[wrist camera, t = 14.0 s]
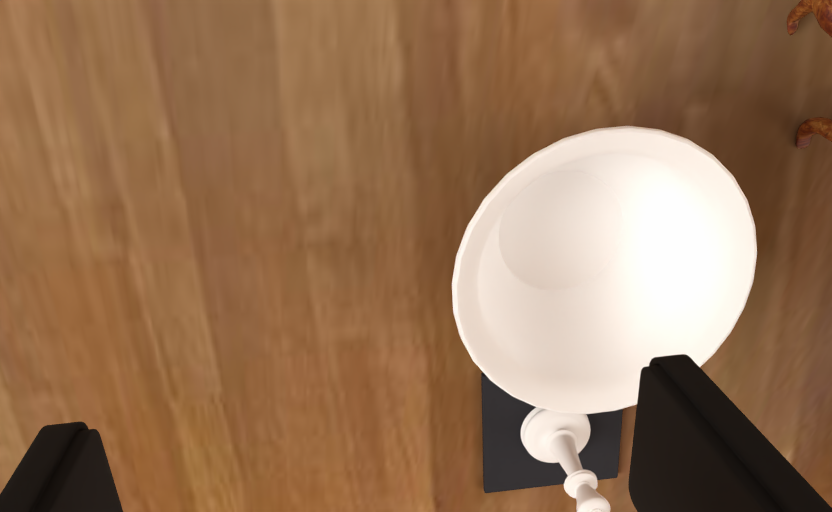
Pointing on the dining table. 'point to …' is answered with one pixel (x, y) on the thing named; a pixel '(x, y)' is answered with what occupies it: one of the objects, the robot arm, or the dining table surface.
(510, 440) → the coaster
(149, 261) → the dining table surface
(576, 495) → the chess piece
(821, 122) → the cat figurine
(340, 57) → the dining table surface
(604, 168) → the bowl
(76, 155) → the dining table surface
